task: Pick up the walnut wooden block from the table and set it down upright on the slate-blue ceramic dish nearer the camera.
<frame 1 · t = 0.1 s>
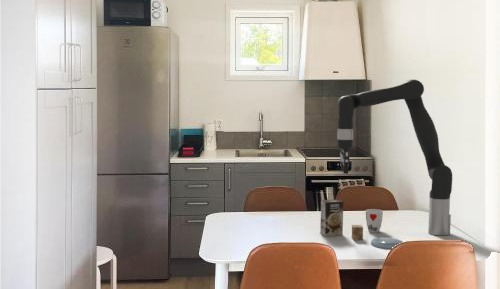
hand: (344, 172, 267), 29 cm above the table, tool pointing down, fingers open, 8 cm apart
block: (357, 238, 258), on the table
dish: (387, 244, 248), on the table
cup: (373, 231, 272), on the table
coffee box: (331, 234, 266), on the table
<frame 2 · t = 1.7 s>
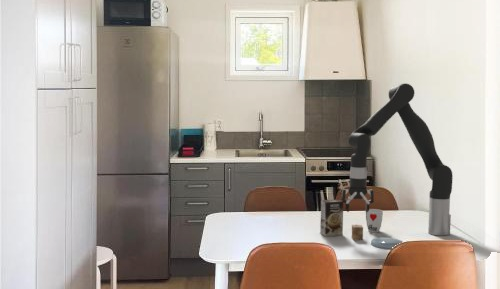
hand: (357, 211, 257), 13 cm above the table, tool pointing down, fingers open, 8 cm apart
nothing on the table moved.
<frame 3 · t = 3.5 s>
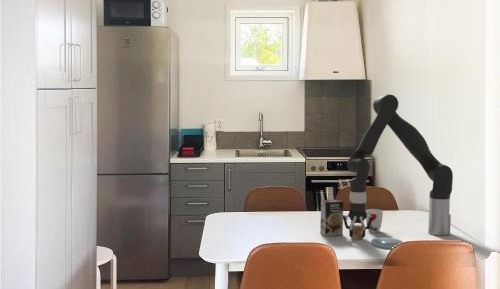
hand: (357, 237, 258), 1 cm above the table, tool pointing down, fingers closed on block, 4 cm apart
block: (357, 238, 258), on the table, touching gripper
everything else where it was.
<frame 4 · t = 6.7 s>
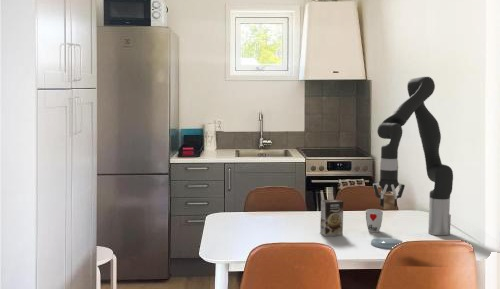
hand: (388, 206, 247), 17 cm above the table, tool pointing down, fingers closed on block, 4 cm apart
block: (388, 208, 247), point 16 cm above the table, touching gripper
everything else where it was.
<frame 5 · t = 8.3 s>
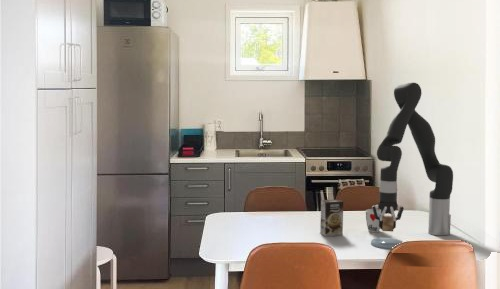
hand: (387, 228, 248), 7 cm above the table, tool pointing down, fingers closed on block, 4 cm apart
block: (387, 230, 248), point 6 cm above the table, touching gripper
everything else where it was.
when the fingers open (3 cm above the table, at t = 9.9 s): block drops 1 cm, resting on dish.
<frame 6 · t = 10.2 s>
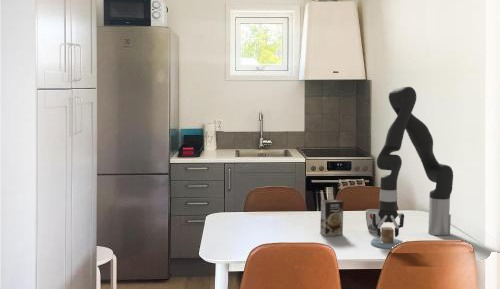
hand: (387, 236, 248), 4 cm above the table, tool pointing down, fingers open, 6 cm apart
block: (387, 241, 248), point 1 cm above the table, touching dish
everything else where it was.
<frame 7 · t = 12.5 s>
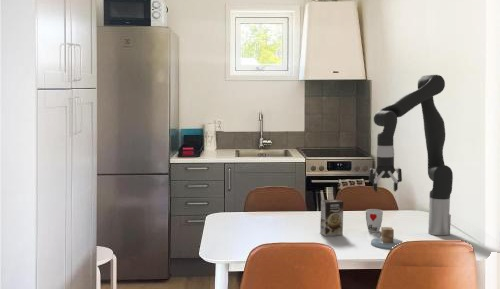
hand: (385, 191, 252), 23 cm above the table, tool pointing down, fingers open, 8 cm apart
nothing on the table moved.
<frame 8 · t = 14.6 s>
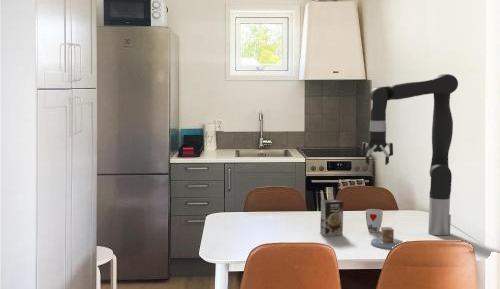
hand: (377, 164, 264), 33 cm above the table, tool pointing down, fingers open, 8 cm apart
nothing on the table moved.
at the end: block inside the target area on the dish (0.1 cm from its centre), point 1.2 cm above the dish's base; block tilted 0°; the gripper is holding nothing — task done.
